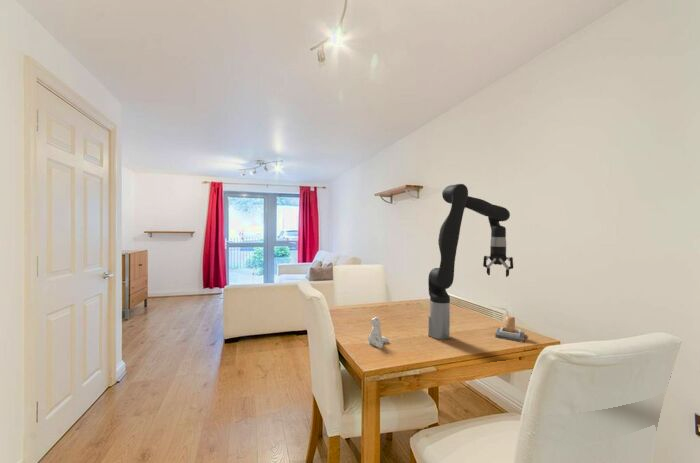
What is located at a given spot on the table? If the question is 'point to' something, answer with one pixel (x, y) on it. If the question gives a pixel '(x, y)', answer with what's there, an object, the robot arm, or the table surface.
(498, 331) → the housing
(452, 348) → the table surface
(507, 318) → the brown peg
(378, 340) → the white creature statuette
